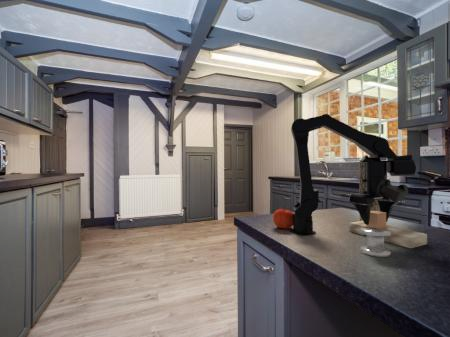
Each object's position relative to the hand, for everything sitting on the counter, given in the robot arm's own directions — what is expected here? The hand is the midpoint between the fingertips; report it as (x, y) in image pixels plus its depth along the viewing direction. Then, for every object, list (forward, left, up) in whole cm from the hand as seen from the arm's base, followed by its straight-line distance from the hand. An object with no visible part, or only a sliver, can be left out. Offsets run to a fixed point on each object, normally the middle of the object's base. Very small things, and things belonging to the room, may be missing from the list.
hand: (376, 223), depth 82 cm
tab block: (0, 0, -4) cm, 4 cm away
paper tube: (-12, +13, -4) cm, 18 cm away
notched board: (+2, +1, -4) cm, 5 cm away
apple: (-22, -21, -4) cm, 31 cm away
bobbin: (+10, -15, -4) cm, 18 cm away
